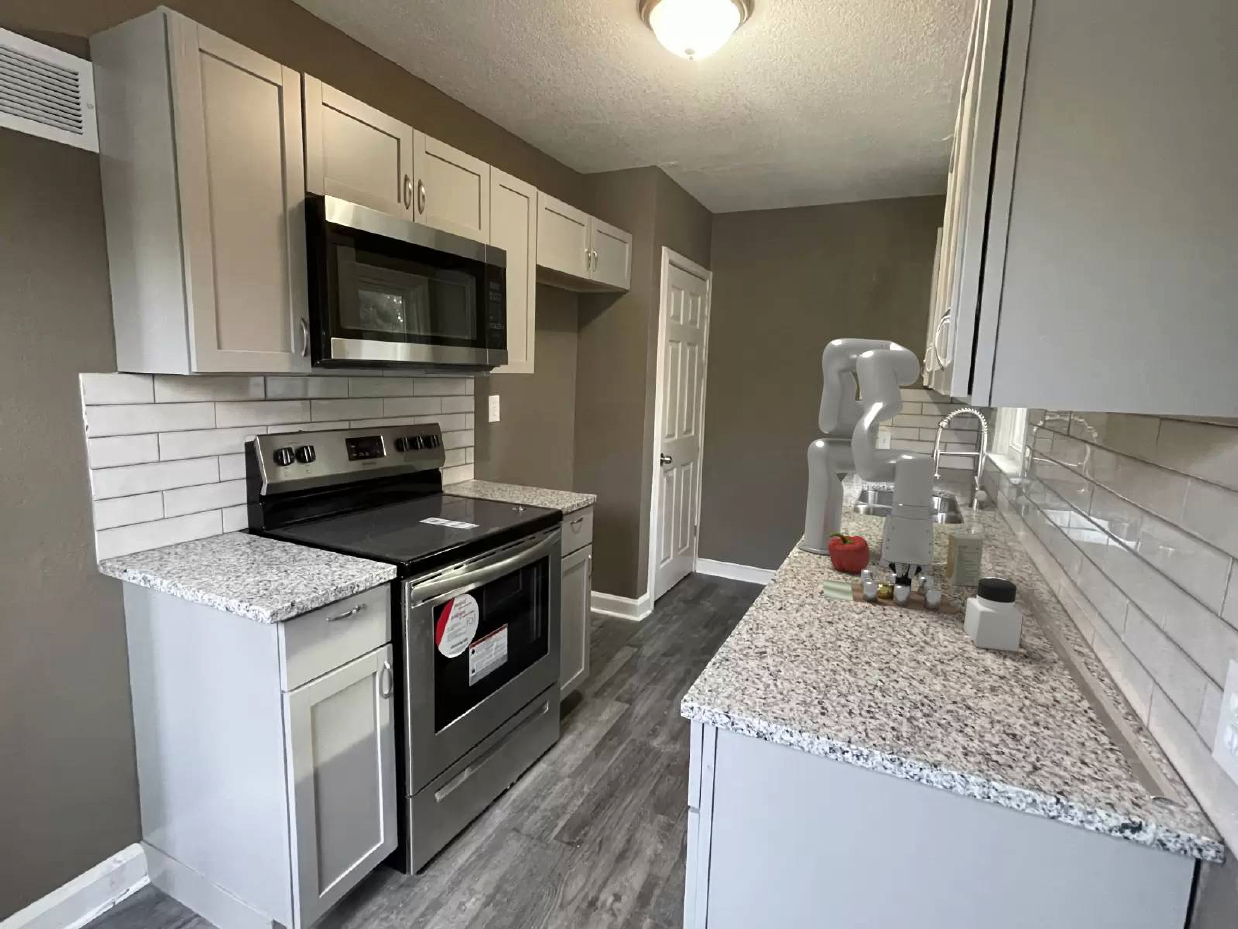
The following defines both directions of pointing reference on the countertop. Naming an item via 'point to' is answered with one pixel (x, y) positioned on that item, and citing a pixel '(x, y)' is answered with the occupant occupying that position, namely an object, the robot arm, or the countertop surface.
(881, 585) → the brass knob
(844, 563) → the vegetable
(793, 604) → the countertop surface
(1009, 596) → the medicine bottle
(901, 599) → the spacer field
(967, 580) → the skincare box
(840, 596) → the board
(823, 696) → the countertop surface
